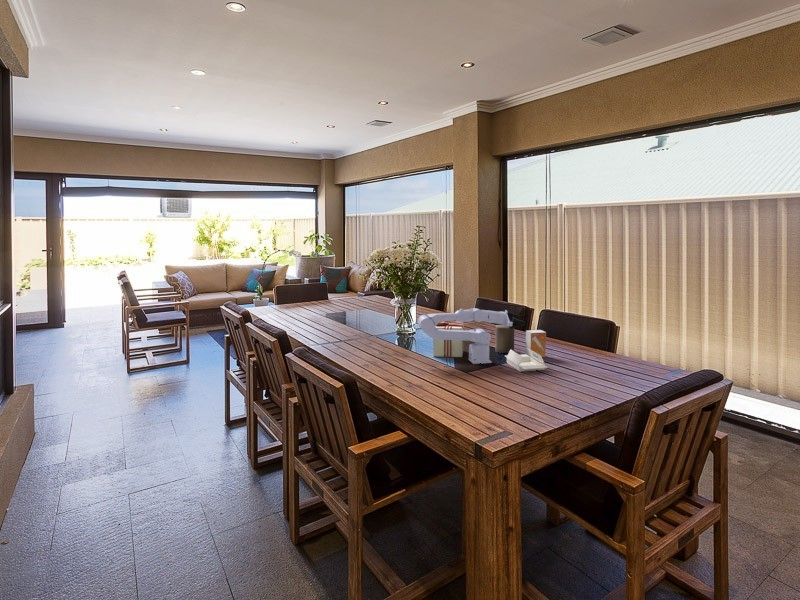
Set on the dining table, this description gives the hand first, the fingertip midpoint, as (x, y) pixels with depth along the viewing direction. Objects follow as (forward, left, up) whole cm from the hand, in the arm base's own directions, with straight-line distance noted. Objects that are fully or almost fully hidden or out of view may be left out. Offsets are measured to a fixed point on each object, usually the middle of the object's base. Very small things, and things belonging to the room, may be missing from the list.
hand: (522, 320), depth 228 cm
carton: (-3, -11, -19) cm, 23 cm away
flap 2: (+2, -11, -15) cm, 19 cm away
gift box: (-32, +20, -20) cm, 42 cm away
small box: (+9, +4, -20) cm, 22 cm away
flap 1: (-8, -11, -15) cm, 20 cm away
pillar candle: (-2, +17, -20) cm, 26 cm away
